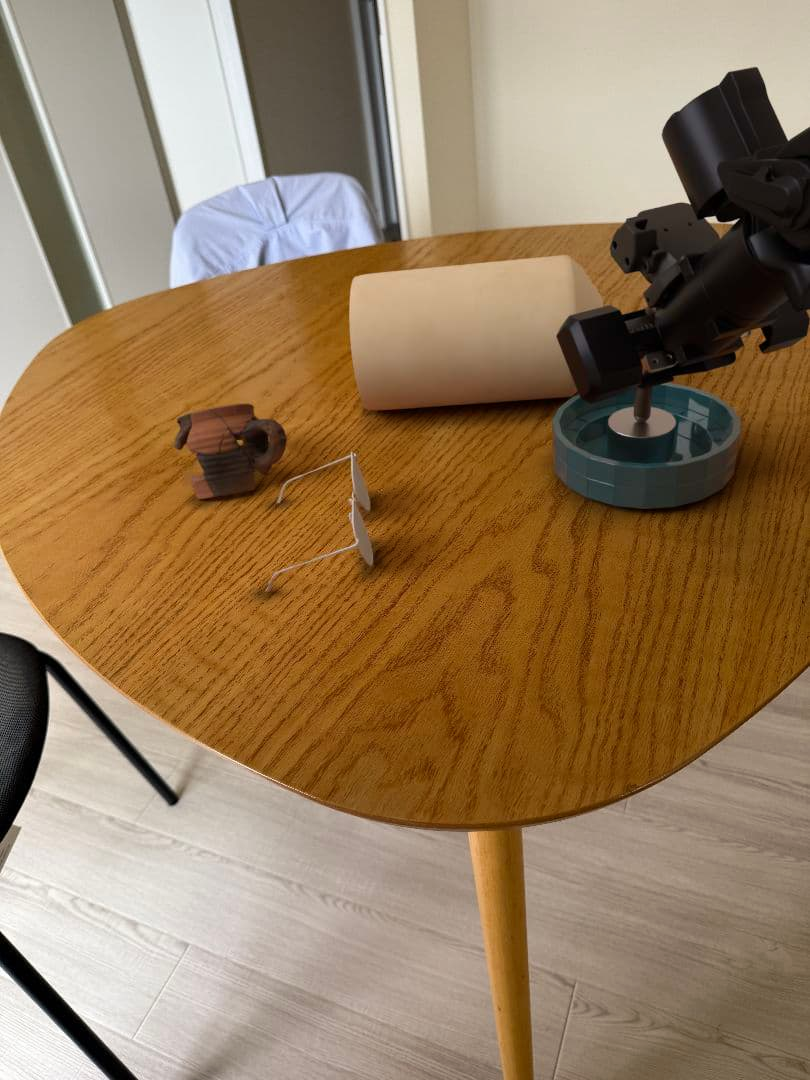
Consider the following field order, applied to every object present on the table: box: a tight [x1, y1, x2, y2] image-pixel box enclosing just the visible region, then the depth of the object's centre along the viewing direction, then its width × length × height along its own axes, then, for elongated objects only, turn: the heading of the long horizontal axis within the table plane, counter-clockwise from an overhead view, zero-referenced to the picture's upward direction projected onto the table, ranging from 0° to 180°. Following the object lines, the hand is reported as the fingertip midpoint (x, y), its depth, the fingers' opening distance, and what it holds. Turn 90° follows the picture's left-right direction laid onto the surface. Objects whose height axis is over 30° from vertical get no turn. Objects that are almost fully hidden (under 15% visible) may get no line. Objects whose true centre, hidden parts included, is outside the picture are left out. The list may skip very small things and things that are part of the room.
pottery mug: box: [173, 402, 288, 500], centre depth 75 cm, size 12×10×8 cm
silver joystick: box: [607, 305, 676, 464], centre depth 65 cm, size 6×6×13 cm
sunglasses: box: [265, 451, 374, 593], centre depth 65 cm, size 14×8×5 cm, turn 4°
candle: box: [348, 254, 604, 411], centre depth 80 cm, size 14×14×25 cm
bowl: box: [551, 382, 742, 510], centre depth 68 cm, size 15×15×4 cm
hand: (634, 376), depth 66 cm, fingers closed on silver joystick
